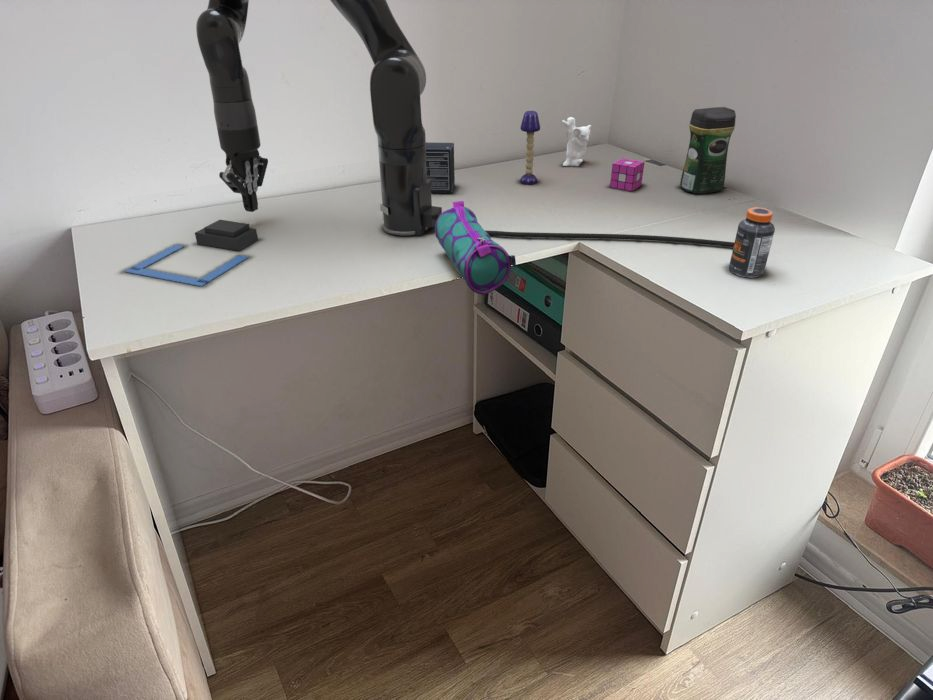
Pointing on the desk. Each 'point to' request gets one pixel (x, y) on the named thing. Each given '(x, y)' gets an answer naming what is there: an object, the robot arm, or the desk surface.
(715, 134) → the coffee jar
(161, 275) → the frame
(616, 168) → the puzzle toy
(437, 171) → the small box
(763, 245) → the pill bottle
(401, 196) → the robot arm
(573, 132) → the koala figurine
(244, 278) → the desk surface
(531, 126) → the toy lamp
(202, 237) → the dark raised-panel slab
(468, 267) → the pencil case
